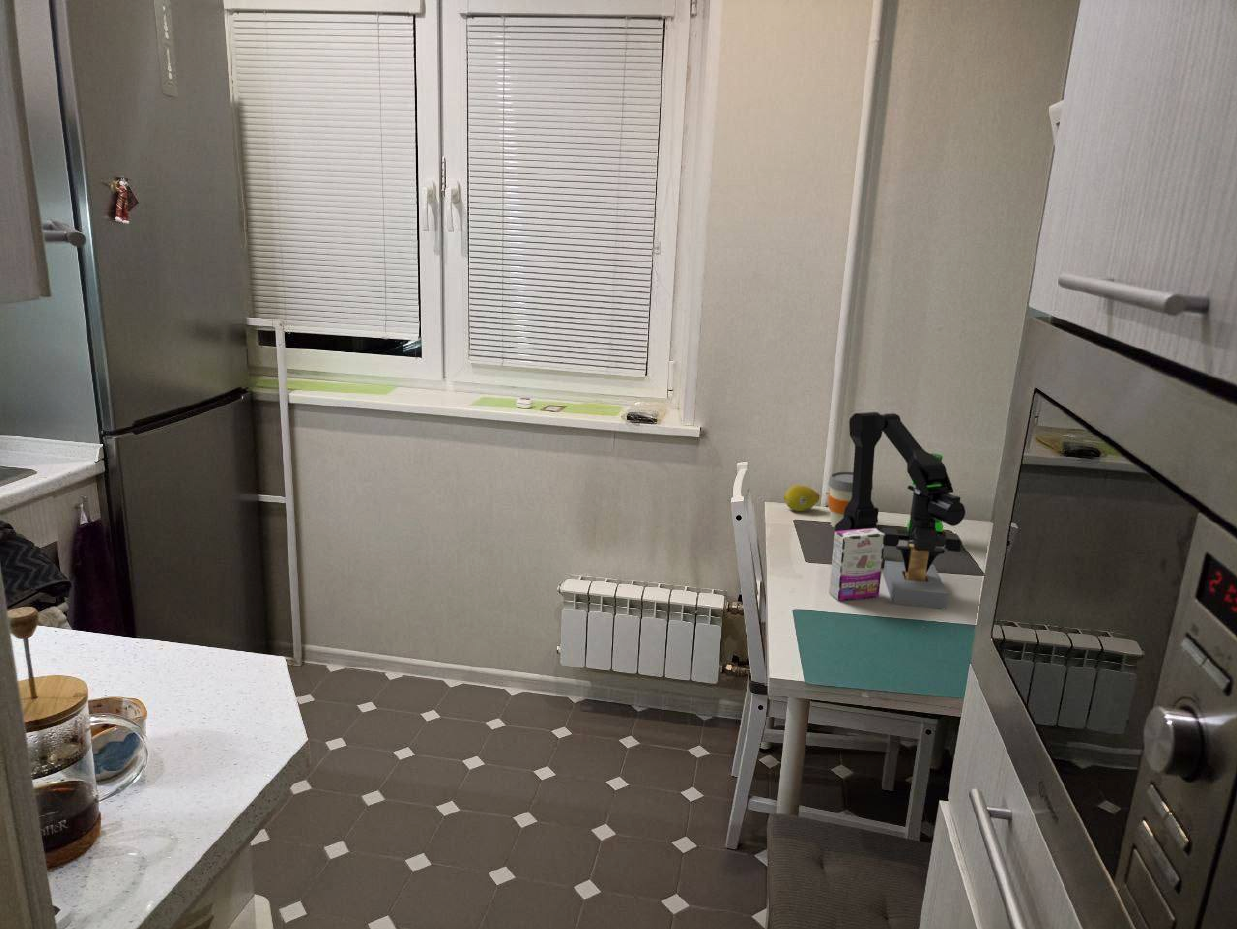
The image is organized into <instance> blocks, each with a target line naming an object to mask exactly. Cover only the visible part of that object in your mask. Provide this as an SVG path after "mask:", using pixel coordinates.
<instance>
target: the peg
mask: <svg viewBox="0 0 1237 929" xmlns="http://www.w3.org/2000/svg"><path fill="white" fill-rule="evenodd" d="M908 547H909V549H910V550H909V567H908V572H905V580H915V581H925V576H926V569H927V561H928V554H929V551H916V550H915V549H914V543H910V544H909V543H908Z"/></svg>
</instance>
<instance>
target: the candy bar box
mask: <svg viewBox="0 0 1237 929" xmlns="http://www.w3.org/2000/svg"><path fill="white" fill-rule="evenodd" d="M833 536H834V538H833V549H832V561H831V572H830V582H829V584H830V585H829V595H830V596H832V598H834V599H835V600H836V601H837V602H845V601H847V602H848V601H856V600H866V599H873V598H879V597H880V587H881V578H882V566H883V559H884V551H885V550H884V549H885V546H884V541H885V534H884V533H882V532H881V531H880V529H878V528H877V527H875V528H869V529H856V530H844V531H835V530H834V535H833Z"/></svg>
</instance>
